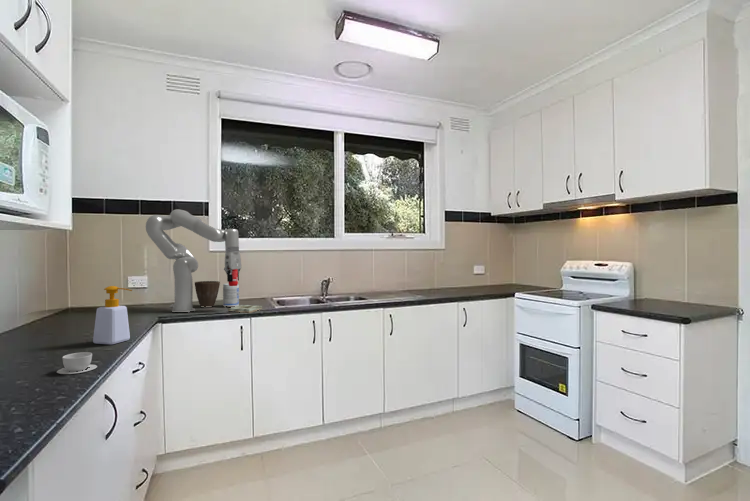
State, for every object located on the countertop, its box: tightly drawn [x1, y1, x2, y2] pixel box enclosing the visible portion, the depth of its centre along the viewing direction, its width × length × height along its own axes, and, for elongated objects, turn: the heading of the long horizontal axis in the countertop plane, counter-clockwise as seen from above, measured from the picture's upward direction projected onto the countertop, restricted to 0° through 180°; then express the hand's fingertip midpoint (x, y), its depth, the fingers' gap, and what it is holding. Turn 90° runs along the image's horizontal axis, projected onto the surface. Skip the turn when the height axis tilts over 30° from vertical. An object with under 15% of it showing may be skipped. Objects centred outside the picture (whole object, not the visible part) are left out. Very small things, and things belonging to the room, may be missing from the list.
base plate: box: [227, 304, 263, 314], centre depth 245 cm, size 14×14×2 cm
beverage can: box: [228, 268, 239, 286], centre depth 240 cm, size 5×5×12 cm
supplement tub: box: [222, 282, 240, 306], centre depth 261 cm, size 10×10×15 cm
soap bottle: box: [92, 285, 133, 346], centre depth 161 cm, size 10×14×22 cm
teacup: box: [56, 351, 98, 375], centre depth 125 cm, size 10×10×5 cm
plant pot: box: [194, 280, 221, 307], centre depth 259 cm, size 15×15×16 cm
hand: (233, 280), depth 241 cm, fingers closed on beverage can, 5 cm apart
